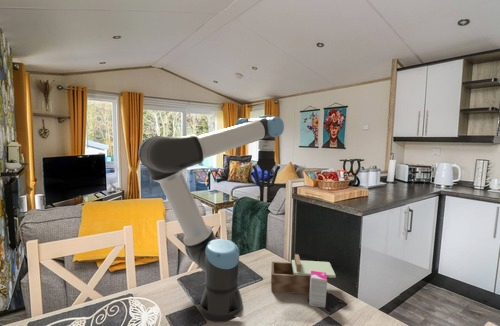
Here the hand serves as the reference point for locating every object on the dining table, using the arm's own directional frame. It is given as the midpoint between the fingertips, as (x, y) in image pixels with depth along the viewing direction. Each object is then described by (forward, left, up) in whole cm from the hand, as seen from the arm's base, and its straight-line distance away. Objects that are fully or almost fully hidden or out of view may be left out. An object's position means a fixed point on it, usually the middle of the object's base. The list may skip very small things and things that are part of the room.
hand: (265, 201), depth 119 cm
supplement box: (+21, -24, -33) cm, 45 cm away
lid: (+20, -14, -24) cm, 35 cm away
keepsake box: (+12, -14, -33) cm, 37 cm away
